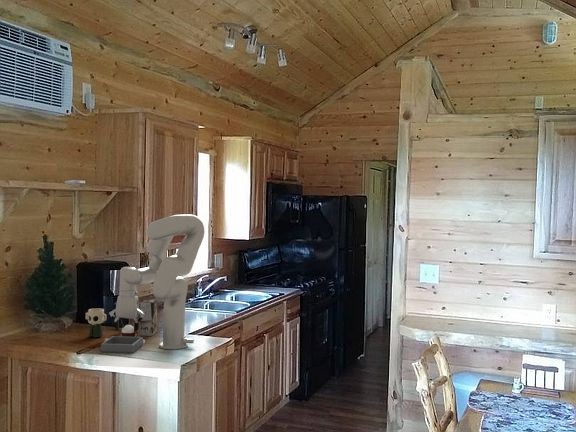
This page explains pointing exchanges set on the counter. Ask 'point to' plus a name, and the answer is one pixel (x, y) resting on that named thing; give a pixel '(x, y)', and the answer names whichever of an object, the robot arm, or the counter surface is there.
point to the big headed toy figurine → (96, 321)
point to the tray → (122, 344)
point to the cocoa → (127, 330)
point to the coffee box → (148, 318)
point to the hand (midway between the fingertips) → (126, 330)
